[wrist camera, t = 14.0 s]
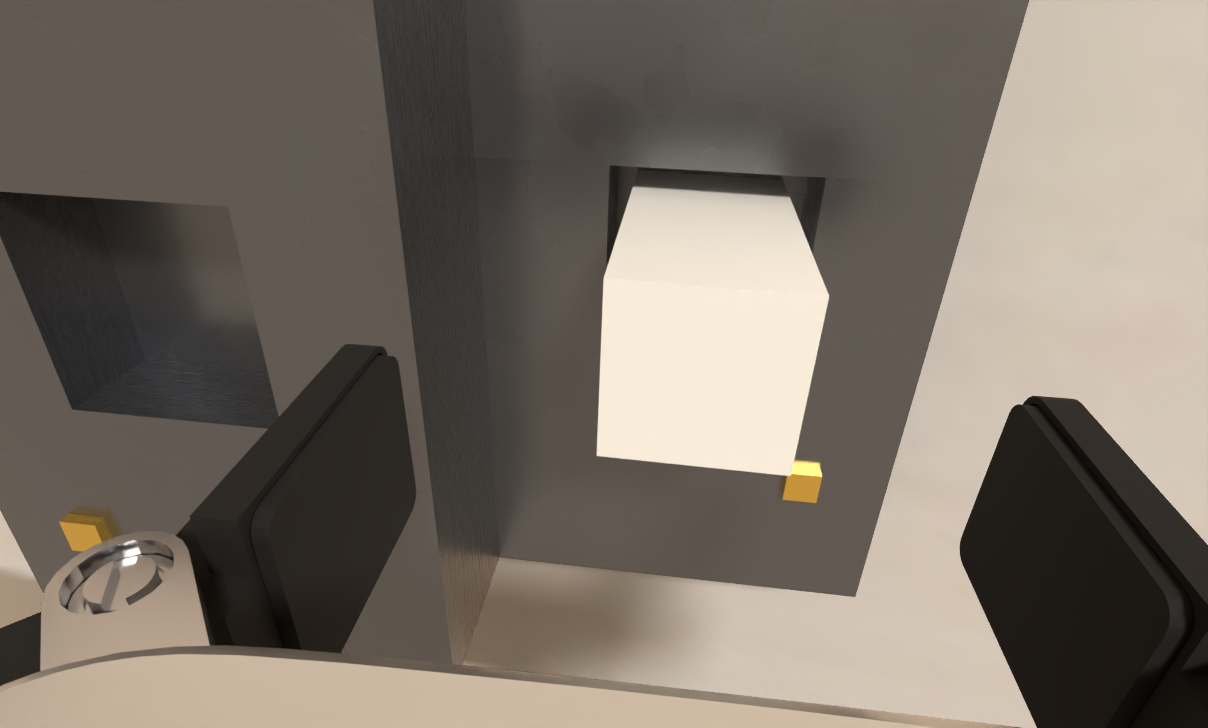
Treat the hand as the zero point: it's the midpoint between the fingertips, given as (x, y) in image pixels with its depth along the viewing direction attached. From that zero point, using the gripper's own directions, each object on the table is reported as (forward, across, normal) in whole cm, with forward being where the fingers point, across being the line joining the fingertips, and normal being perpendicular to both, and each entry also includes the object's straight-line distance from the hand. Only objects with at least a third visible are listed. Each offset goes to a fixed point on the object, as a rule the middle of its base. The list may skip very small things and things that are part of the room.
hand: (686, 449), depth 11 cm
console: (+12, +5, 0) cm, 13 cm away
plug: (+11, 0, 0) cm, 11 cm away
